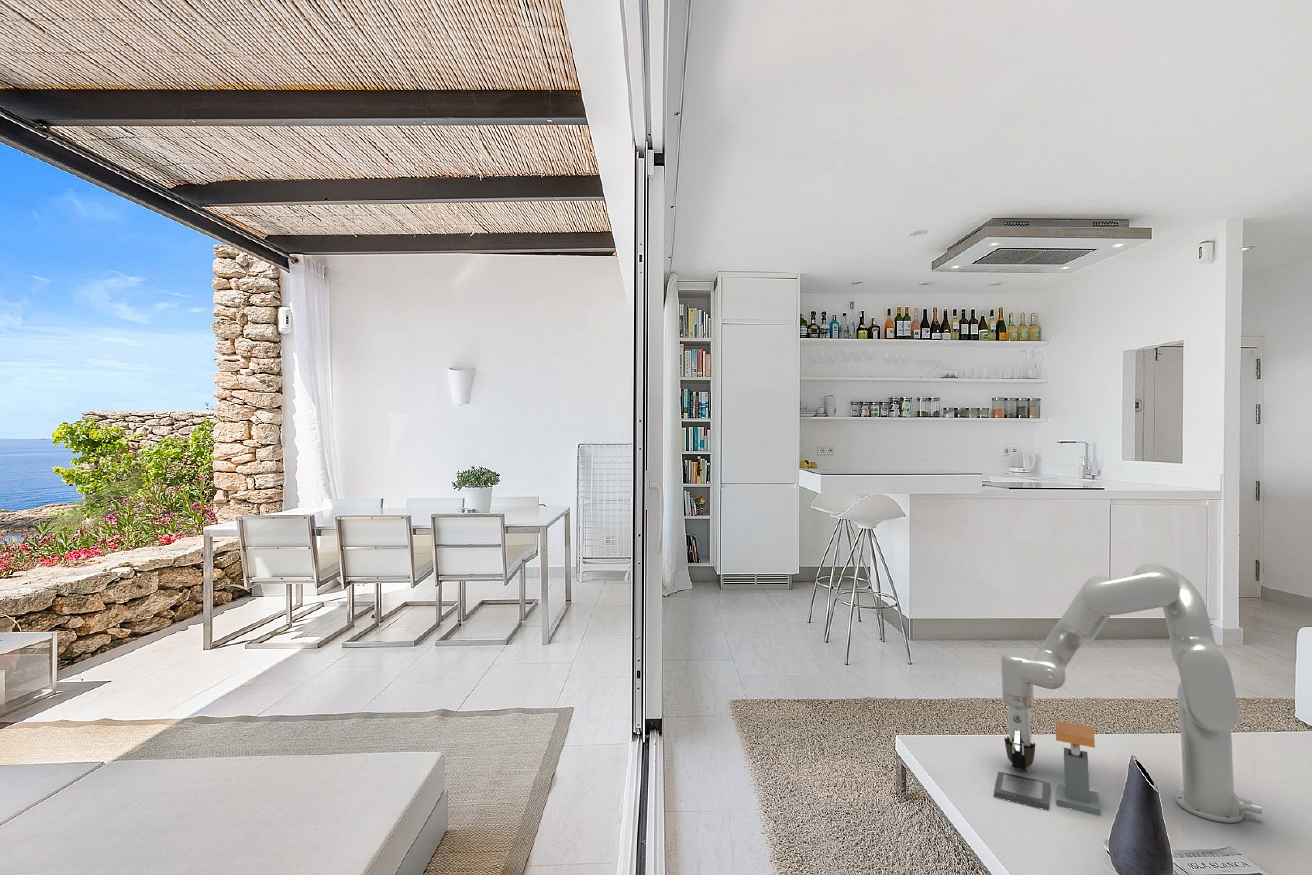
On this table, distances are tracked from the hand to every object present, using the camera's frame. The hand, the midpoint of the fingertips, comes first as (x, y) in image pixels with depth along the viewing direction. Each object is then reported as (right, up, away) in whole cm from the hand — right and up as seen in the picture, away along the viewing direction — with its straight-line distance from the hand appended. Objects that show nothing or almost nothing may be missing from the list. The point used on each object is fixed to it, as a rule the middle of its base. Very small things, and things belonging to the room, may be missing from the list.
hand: (1020, 760), depth 177 cm
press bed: (-6, -2, -12) cm, 13 cm away
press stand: (+5, -2, -16) cm, 17 cm away
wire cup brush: (0, -3, 0) cm, 3 cm away
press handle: (+5, +4, -16) cm, 17 cm away
